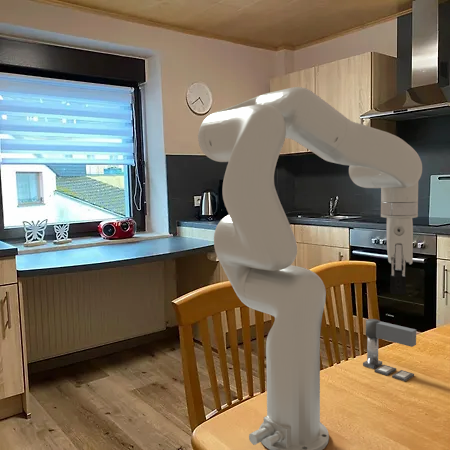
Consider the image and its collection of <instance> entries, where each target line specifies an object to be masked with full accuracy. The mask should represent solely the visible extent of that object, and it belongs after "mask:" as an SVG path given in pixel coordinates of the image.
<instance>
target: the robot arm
mask: <svg viewBox="0 0 450 450" xmlns="http://www.w3.org/2000/svg"><path fill="white" fill-rule="evenodd" d="M286 139H288V140H289V139H290V140H292V141H294V142H296V143H297V144H299V145H301V146H302V147H304V148H305V149H307V150H309V151H310V152H311V153H313V154H315V155H316V156H318V157H319V158H321V159H323V160H324V161H326V162H329V163H332V164H333V163H334V164H338V165H342V166H349V167H348V175H349V178H350V180H351V181H352V182H353V184H355V185H356V186H358V187H361V188H365V189H380V190H381V191H380V192H381V193H380V218H385V219H386V251H387V261H388V263H389V264H391V274H390V275H389V276H390V277H389V279H390V281H389V282H390V283H389V286H390V287H389V288H390V289H389V292H390V294H391V295H403V296H404V295H406V294H407V292H406V291H407V275H406V263H408V264H409V265H412V264H413V262H414V260H413V257H414V256H413V253H414V252H413V247H414V246H413V245H414V239H413V238H414V235H413V234H414V224H413V219H414V218H415V219H416V218H418V217H419V213H418V212H419V180H420V179H421V177H422V174H423V162H422V160H421V157H420V156H419V155H420V154H419V153H417V151H416V150H415V149H414V148H413V147H412V146H411V145H410V144H408V143H407V142H406V141H405V140H404V139H402V138H400V137H399V136H397V135H395V134H392V133H390V132H388V131H384V130H381V129H378V128H374V127H372V126H369V125H366V124H364V123H363V124H362V123H359V122H355V121H353V120H350V119H349V118H347V116H345V115H344V114H343V113H341V112H340V111H339V110H337V109H336V108H334V107H333V106H332V105H331V104H330V103H328V102H326V100H324V99H323V98H322V97H320V96H319V95H317V94H316V93H315V92H313V91H312V90H310V89H308V88H306V87H302V86H301V87H300V86H295V87H289V88H284V89H280V90H275V91H271V92H267V93H263V94H260V95H257V96H255V97H253V98H250V99H248V100H245V101H243V102H240V103H238V104H235V105H232V106H230V107H229V106H228V107H227V108H223V109H221V110H218V111H215V112H213V113H211V114H209V115H208V116H207V117H205V119H203V120H202V123H201V124H200V126H199V129H198V134H197V141H198V145H199V147H200V150H201V151H202V153H203V155H205V156H206V157H207V158H209V159H210V160H212V161H215V162H219V163H227V165H226V167H225V168H226V169H225V173H224V175H223V182H222V200H223V203H224V207H225V208H226V211H227V213H228V214H227V215H226V216H224V217H223V218H222V219H220V221H219V222H218V224H216V227H215V230H214V235H213V246H214V251H215V254H216V257H217V259H218V261H219V264H220V265H221V267H222V270H223V272H224V274H225V275H226V277H227V279H228V281H229V283H230V286H231V287H232V288H233V290H234V292H235V294H236V296H237V298H238V299H239V300H240V301H241V303H242V304H244V305H245V306H246V307H248V308H250V309H253V310H255V311H257V312H261V313H264V314H268V315H270V316H272V317H274V322H273V325H272V326H271V328H270V330H269V331H268V334H267V336H266V343H265V357H266V358H265V359H266V361H265V362H266V363H265V364H266V416H264V417H263V422H262V423H261V424H260V426H259V428H258V429H256V430H254V431H252V432H251V433H250V434H249V435H248V440H249V442H250V444H252V445H255V446H256V445H257V444H259V443H261V444H262V445H263V446H264V447H266V448H267V449H268V450H324V449H325V448H326V447H327V445H328V443H329V440H330V438H329V437H330V436H329V434H330V433H329V431H328V428H327V427H326V426H325V425H324V424H323V423H322V422H321V369H320V368H321V355H320V354H321V353H320V352H321V349H320V348H321V346H320V341H321V327H322V320H323V313H324V309H325V304H326V297H327V296H326V295H327V292H326V291H327V290H326V286H325V284H324V281H323V280H322V278H321V277H320V276H319V275H318V274H317V273H316V272H315V271H312V270H310V269H309V268H308V269H307V268H306V267H301V266H297V265H293V264H294V262H295V260H296V258H297V254H298V245H297V239H296V236H295V234H294V231H293V229H292V227H291V226H292V225H291V223H290V222H289V219H288V217H287V215H286V213H285V210H284V208H283V205H282V204H281V201H280V198H279V196H278V192H277V190H276V186H275V173H276V172H275V171H276V166H277V162H278V159H279V158H280V157H279V156H280V154H281V152H282V149H283V146H284V144H285V140H286Z"/></svg>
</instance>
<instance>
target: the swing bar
mask: <svg viewBox="0 0 450 450" xmlns="http://www.w3.org/2000/svg"><path fill="white" fill-rule="evenodd" d="M365 336H366V337H367V336H368V337H373V338H378V339H381V340H385V341H387V342H392V343H395V344H399V345H402V346H408V347H411V348H412V347H414V346H417V328H416V329H415V328H410V327H407V326H401V325H398V324H395V323H394V324H392V323H390V322H384V321H381V320H379V319H377V318H368V319H365Z"/></svg>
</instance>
